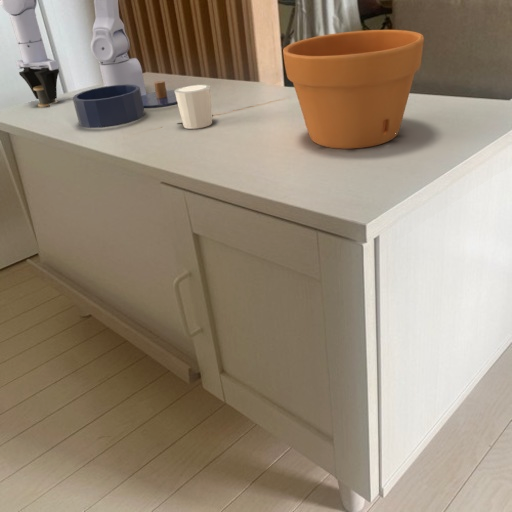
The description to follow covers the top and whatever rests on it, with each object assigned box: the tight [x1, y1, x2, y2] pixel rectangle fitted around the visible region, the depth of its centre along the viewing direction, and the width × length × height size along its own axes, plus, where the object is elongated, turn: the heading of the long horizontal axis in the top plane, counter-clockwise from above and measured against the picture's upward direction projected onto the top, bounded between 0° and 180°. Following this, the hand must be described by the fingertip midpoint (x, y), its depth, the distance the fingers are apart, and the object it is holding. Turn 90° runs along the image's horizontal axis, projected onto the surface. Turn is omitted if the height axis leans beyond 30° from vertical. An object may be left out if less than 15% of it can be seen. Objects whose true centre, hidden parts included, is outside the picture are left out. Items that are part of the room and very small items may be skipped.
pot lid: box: [142, 80, 178, 109], centre depth 125 cm, size 15×15×5 cm
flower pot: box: [282, 29, 425, 150], centre depth 86 cm, size 21×21×15 cm
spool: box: [33, 85, 59, 108], centre depth 136 cm, size 5×5×4 cm
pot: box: [72, 85, 145, 129], centre depth 113 cm, size 14×14×6 cm
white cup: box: [174, 84, 213, 130], centre depth 104 cm, size 7×7×7 cm
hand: (46, 98), depth 136 cm, fingers closed on spool, 4 cm apart
